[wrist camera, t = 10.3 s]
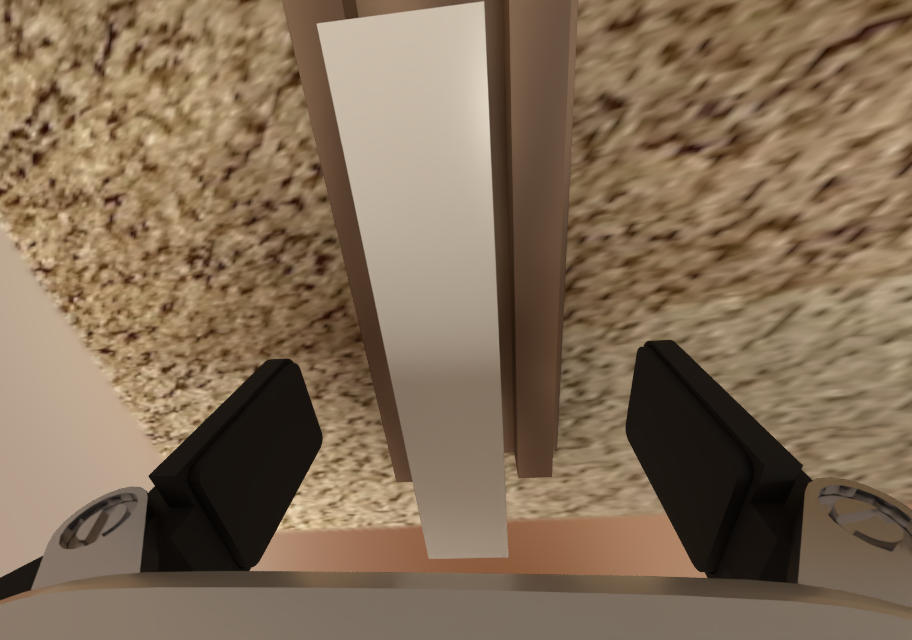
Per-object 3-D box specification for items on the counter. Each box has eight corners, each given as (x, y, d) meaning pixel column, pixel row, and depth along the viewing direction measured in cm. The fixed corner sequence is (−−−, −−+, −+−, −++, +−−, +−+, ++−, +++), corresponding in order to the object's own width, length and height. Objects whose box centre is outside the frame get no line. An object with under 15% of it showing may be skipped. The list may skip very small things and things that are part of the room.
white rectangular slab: (475, 88, 14) (484, 1, 6) (493, 401, 21) (508, 557, 13) (403, 96, 14) (316, 23, 6) (444, 403, 21) (428, 558, 13)
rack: (573, -36, 13) (599, -84, 10) (553, 439, 23) (564, 476, 21) (293, 3, 14) (251, -33, 11) (394, 445, 24) (384, 482, 22)
